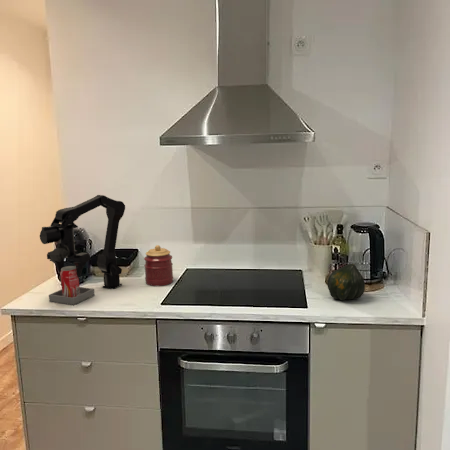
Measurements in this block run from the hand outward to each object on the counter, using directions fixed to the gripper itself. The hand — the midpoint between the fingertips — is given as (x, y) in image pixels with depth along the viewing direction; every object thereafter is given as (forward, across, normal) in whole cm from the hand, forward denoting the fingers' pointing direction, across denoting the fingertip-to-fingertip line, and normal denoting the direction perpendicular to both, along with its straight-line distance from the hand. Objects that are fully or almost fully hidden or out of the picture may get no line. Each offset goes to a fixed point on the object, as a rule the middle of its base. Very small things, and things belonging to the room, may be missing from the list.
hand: (70, 275), depth 200 cm
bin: (+10, 0, 0) cm, 10 cm away
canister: (+10, +23, +33) cm, 41 cm away
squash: (+10, +107, +40) cm, 115 cm away
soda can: (+10, 0, 0) cm, 10 cm away
